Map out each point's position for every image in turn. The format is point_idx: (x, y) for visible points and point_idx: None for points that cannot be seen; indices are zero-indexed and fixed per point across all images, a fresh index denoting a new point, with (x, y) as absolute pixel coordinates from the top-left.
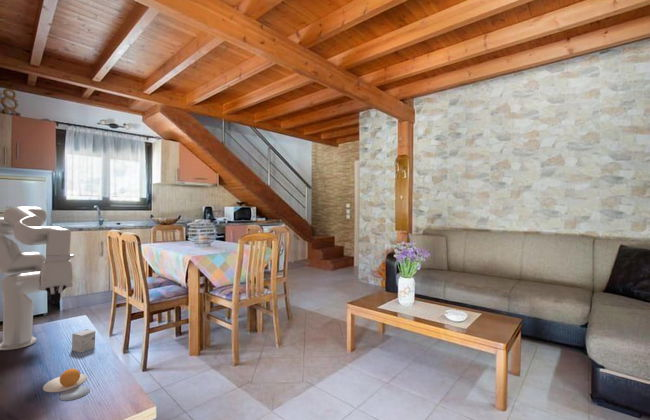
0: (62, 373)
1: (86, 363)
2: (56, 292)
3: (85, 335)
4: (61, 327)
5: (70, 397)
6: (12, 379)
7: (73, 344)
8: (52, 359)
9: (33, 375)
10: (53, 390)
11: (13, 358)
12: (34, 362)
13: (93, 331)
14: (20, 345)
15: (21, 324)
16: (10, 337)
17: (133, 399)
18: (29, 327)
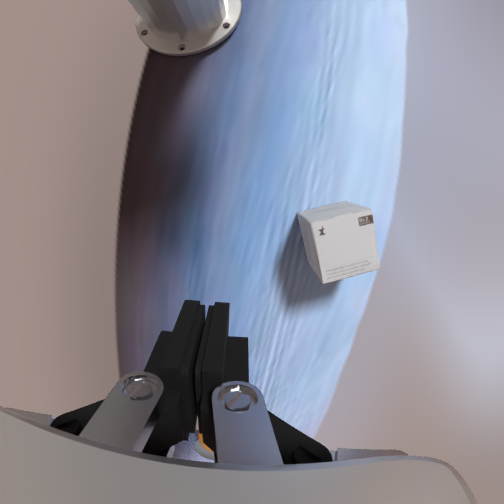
0: (202, 439)
1: (284, 354)
2: (202, 422)
3: (338, 279)
4: None
5: (207, 454)
6: (127, 309)
7: (302, 227)
8: (227, 248)
9: (166, 326)
10: None
11: (146, 138)
12: (182, 229)
13: (373, 267)
14: (183, 45)
15: (165, 4)
16: (148, 24)
17: None
18: (203, 4)
